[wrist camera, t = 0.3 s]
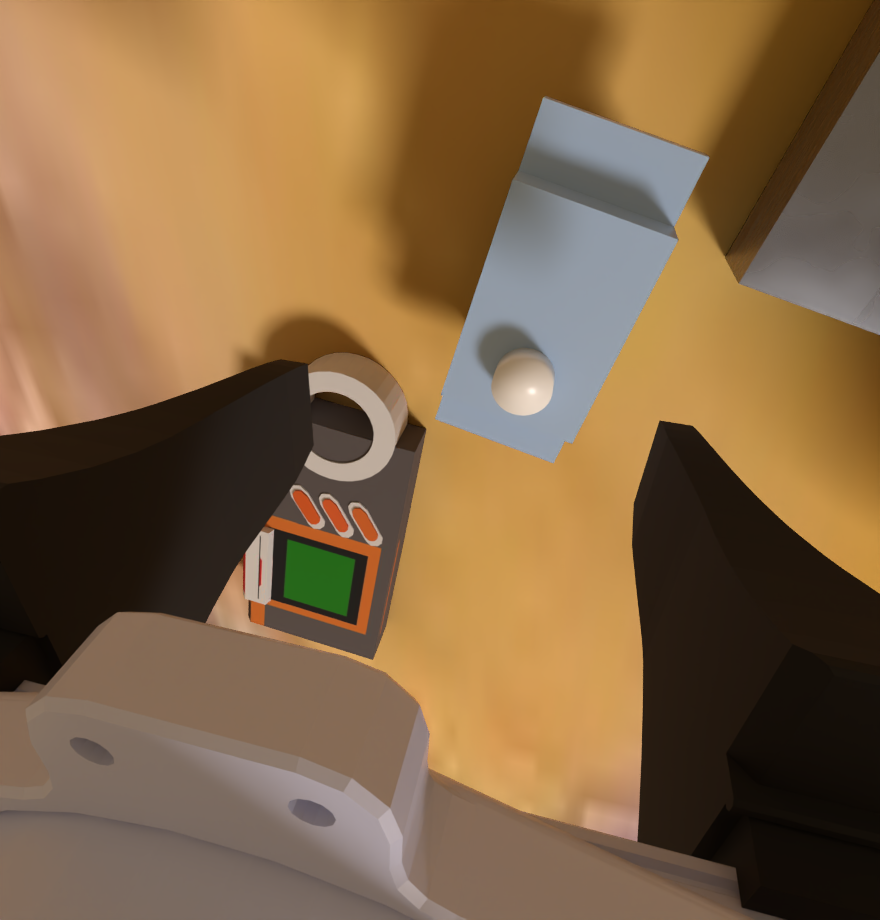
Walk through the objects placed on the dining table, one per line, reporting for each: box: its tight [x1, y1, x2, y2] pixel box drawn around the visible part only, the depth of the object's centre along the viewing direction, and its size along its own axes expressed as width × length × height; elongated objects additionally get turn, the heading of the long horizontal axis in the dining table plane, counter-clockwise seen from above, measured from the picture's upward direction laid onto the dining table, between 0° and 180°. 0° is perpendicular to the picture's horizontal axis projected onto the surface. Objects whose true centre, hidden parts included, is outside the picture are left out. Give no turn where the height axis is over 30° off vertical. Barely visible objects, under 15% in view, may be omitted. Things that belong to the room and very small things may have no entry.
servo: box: [435, 96, 709, 463], centre depth 17 cm, size 4×9×6 cm, turn 164°
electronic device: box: [243, 353, 426, 660], centre depth 27 cm, size 7×3×15 cm
